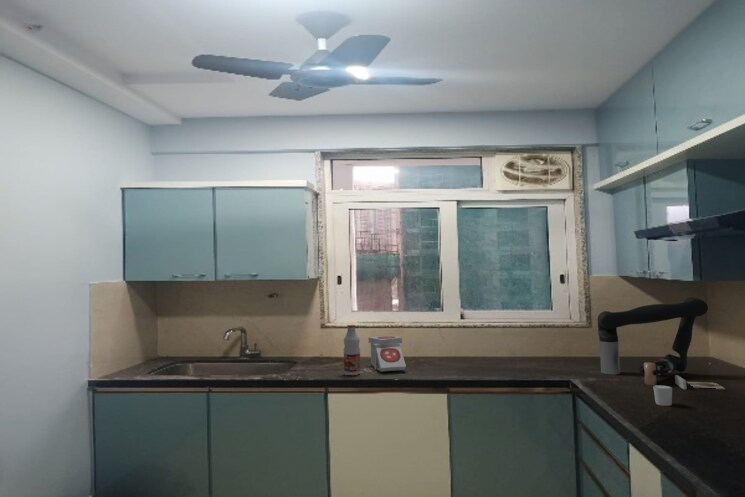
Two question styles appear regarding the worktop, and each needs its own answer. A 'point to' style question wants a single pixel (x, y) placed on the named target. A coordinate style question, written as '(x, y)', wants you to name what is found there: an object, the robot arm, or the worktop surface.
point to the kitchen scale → (387, 353)
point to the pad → (705, 385)
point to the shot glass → (663, 395)
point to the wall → (680, 382)
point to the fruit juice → (351, 351)
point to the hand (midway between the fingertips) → (647, 372)
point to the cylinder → (650, 373)
